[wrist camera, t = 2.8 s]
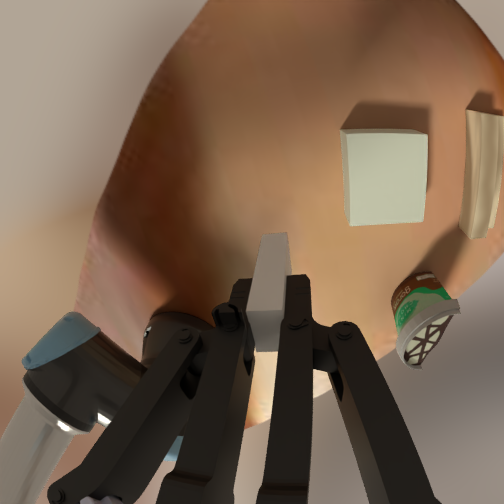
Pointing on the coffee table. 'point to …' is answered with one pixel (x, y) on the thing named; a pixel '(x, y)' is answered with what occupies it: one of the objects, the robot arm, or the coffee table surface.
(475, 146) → the beige ridged bar
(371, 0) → the coffee table surface
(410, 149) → the block
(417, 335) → the food container
